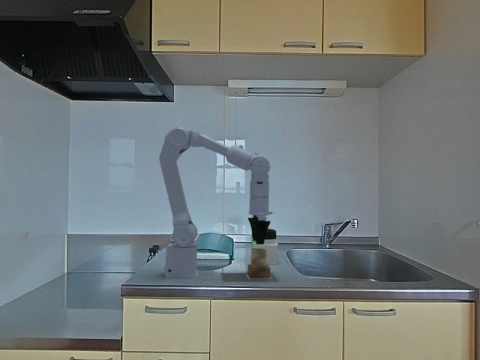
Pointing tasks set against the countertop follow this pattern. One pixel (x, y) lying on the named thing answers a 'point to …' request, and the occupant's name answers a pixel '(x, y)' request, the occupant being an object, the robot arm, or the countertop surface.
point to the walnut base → (258, 272)
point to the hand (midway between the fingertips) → (258, 242)
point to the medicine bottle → (270, 247)
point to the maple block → (258, 258)
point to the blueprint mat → (245, 278)
